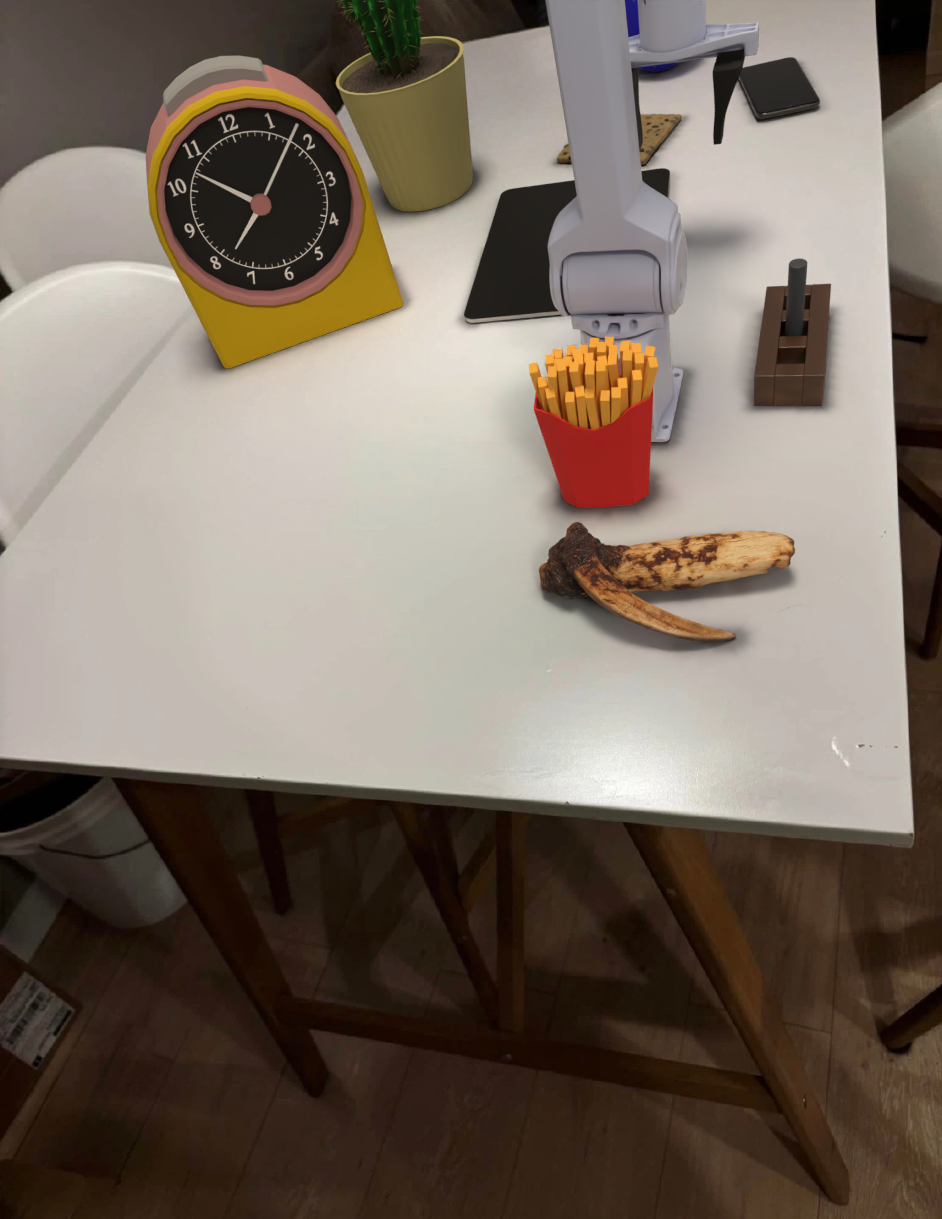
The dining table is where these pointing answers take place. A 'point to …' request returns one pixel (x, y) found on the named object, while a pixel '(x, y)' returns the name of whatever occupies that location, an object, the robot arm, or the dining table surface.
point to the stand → (792, 350)
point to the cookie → (653, 135)
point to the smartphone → (778, 88)
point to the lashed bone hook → (658, 572)
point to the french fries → (598, 420)
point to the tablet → (526, 251)
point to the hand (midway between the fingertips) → (677, 143)
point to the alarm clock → (263, 209)
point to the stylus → (796, 297)
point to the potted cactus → (409, 105)
